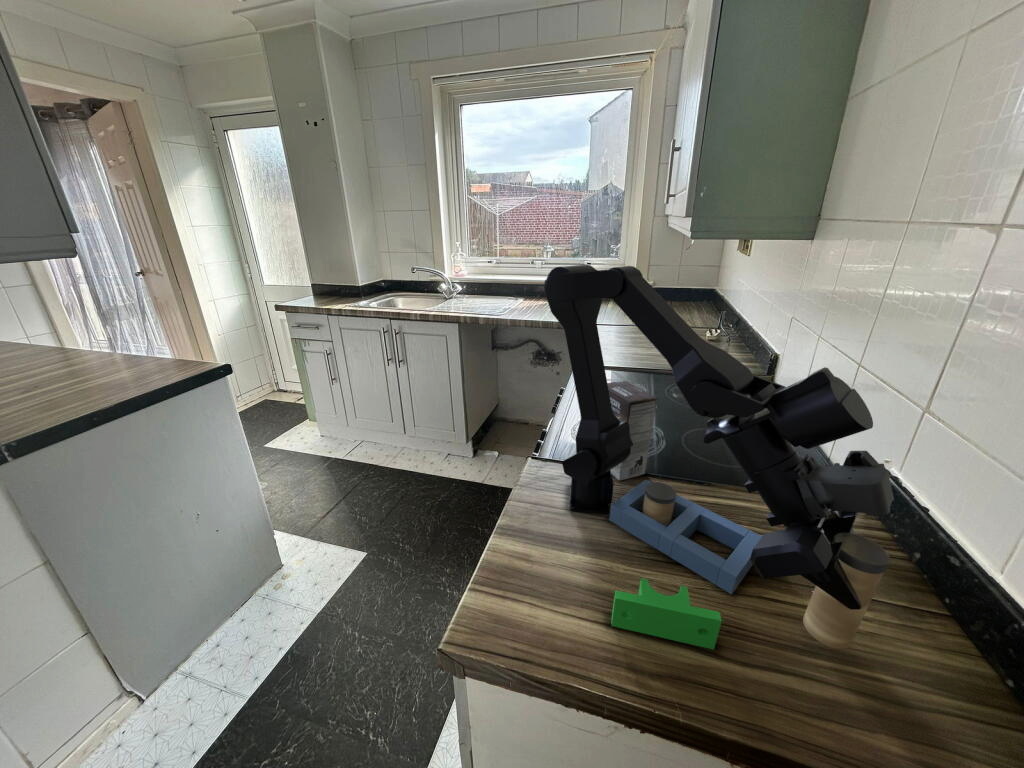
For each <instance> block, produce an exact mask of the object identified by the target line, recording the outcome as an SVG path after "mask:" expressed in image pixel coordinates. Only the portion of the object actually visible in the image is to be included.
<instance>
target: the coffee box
mask: <svg viewBox="0 0 1024 768" xmlns="http://www.w3.org/2000/svg"><path fill="white" fill-rule="evenodd" d="M607 384H608V390H609V395H610V401H611V407H612V411H613V414H614V415H615V416H616V417H617V418H618V420H619V421H620V422H628V423H629V426H630V437H631V440H632V442H633V444H634V445H633V446H632V447H631V452H630V455H629V456H628V458H627V459H626V460H625V461H623V462H622V463H620V464H619V465H618V466H616V467H614V468H612V469H611V470H610V472H611V475H612V476H613V477H615V479H616V480H618V481H619V482H620V481H624V480H627V479H631V478H635V477H639V476H643V475H645V474H646V468H647V462H648V455H649V450H650V444H651V438H652V432H653V426H654V420H655V413H656V409H657V402H658V396H654V395H653V394H651V393H650V392H648V391H646V390H643V388H640V387H638V386H637V385H635V384H632V383H631V382H629V381H627V380H622V381H613V382H607Z"/></svg>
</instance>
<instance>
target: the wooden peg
mask: <svg viewBox="0 0 1024 768" xmlns="http://www.w3.org/2000/svg"><path fill="white" fill-rule="evenodd" d="M837 542H843V546H842V549H841V551H840V554H839V556H838V560H839V562H840V564H841V566H842V568H843V570H844V572H845V574H846V575H847V577H848V579H849V581H850V583H851V585H852V587H853V589H854V591H855V592H856V595H857V597H858V599H859V601H860V603H861V605H862V607H861V609H858V610H851V609H849V608H847V607H846V606H844V605H843V604H842V603H840V602H839V601H837V600H836V599H834V598H833V597H832V596H830V595H829V594H827V593H826V592H825V591H823V590H822V589H820V588H819V587H817V586H816V585H814V586H815V587H814V589H813V592H812V594H811V596H810V600H809V602H808V604H807V607H806V610H805V612H804V614H803V618H802V623H803V626H804V627H805V630H806V631H807V632H808V633H809V634H810V635H811V637H813V638H814V639H815V640H817V641H818V642H819V643H821V644H823V645H825V646H827V647H829V648H832V649H835V650H845V649H848V648H850V646H851V645H852V643H853V640H854V638H855V636H856V634H857V632H858V630H859V628H860V625H861V623H862V621H863V619H864V617H865V614H866V612H867V610H868V608H869V606H870V604H871V602H872V600H873V597H874V595H875V593H876V590H877V589H878V586H879V585H880V582H881V580H882V578H883V576H884V573H885V572H886V571H887V569H888V566H889V564H890V562H891V557H890V555H889V553H888V552H887V550H885V549H884V548H883V547H882V546H881V545H880V544H878V543H877V542H875V541H873V540H872V539H869V538H867V537H865V536H863V535H860V534H857V533H854V534H853V533H838V534H836V535H835V536H834V538H833V541H832V543H837Z"/></svg>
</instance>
